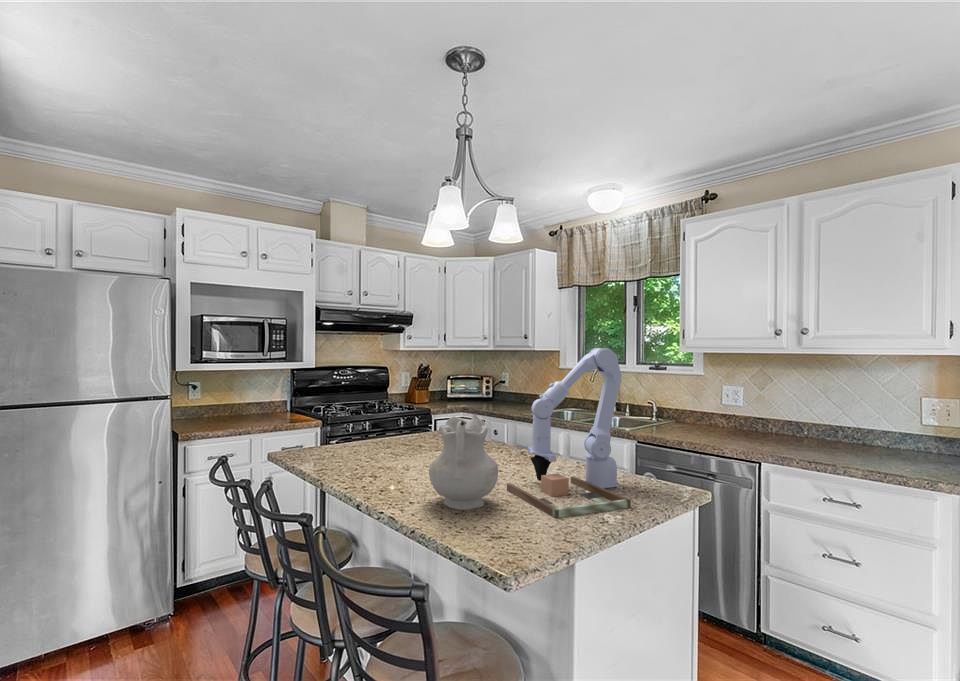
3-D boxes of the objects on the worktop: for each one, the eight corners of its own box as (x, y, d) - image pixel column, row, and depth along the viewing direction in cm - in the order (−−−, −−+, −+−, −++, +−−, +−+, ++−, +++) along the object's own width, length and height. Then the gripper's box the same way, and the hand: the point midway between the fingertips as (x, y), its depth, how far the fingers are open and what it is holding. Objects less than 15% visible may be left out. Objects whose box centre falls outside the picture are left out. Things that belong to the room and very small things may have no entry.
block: (557, 489, 162) (557, 473, 162) (568, 494, 157) (568, 478, 157) (540, 491, 160) (541, 475, 160) (551, 497, 154) (551, 480, 154)
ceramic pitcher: (503, 520, 136) (511, 424, 137) (428, 517, 133) (437, 419, 133) (488, 496, 157) (495, 414, 158) (424, 493, 154) (431, 409, 155)
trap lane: (573, 482, 170) (573, 476, 170) (630, 507, 145) (630, 500, 145) (506, 489, 161) (506, 483, 161) (554, 518, 135) (554, 510, 135)
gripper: (519, 434, 171) (519, 475, 171) (542, 441, 157) (541, 486, 157) (538, 432, 174) (538, 473, 173) (562, 440, 160) (561, 484, 160)
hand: (541, 479), depth 166 cm, fingers closed
